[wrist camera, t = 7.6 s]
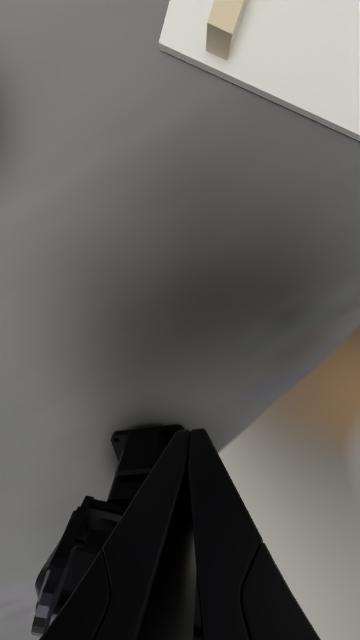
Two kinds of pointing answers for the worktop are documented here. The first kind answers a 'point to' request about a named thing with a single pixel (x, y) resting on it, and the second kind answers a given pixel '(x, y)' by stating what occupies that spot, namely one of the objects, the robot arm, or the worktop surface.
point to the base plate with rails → (277, 51)
